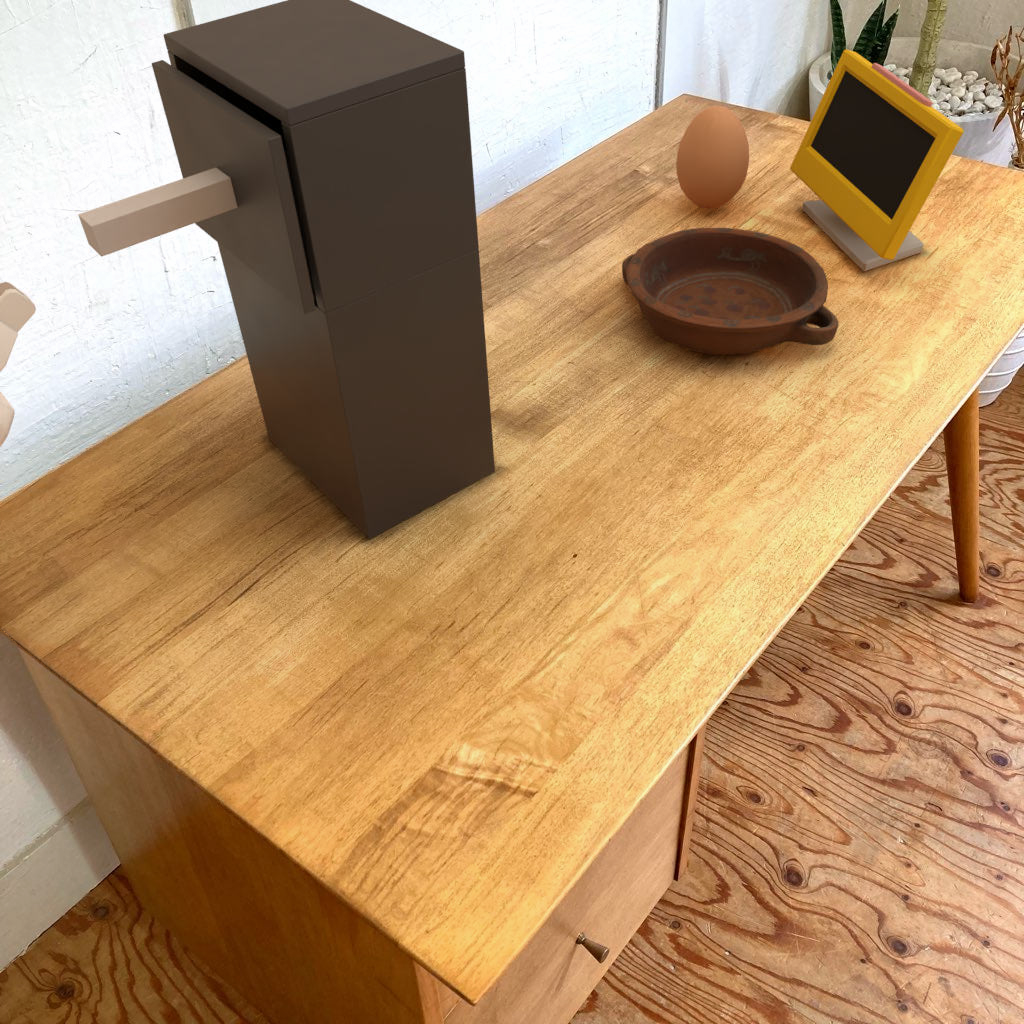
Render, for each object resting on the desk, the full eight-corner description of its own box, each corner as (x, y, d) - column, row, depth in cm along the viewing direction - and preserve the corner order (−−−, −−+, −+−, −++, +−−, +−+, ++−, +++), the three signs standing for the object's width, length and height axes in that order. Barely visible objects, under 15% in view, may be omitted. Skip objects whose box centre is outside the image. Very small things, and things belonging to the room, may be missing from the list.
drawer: (171, 373, 61) (112, 192, 54) (73, 270, 71) (10, 103, 63) (458, 251, 70) (442, 81, 62) (337, 174, 79) (311, 17, 72)
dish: (788, 405, 89) (797, 356, 86) (571, 327, 99) (571, 281, 96) (869, 309, 99) (879, 262, 96) (664, 247, 109) (667, 203, 106)
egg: (757, 201, 115) (769, 103, 108) (719, 229, 111) (729, 129, 104) (698, 183, 119) (706, 87, 112) (659, 209, 115) (665, 111, 108)
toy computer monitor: (784, 197, 116) (806, 51, 105) (850, 186, 117) (878, 40, 106) (874, 289, 101) (909, 130, 91) (947, 276, 103) (991, 117, 92)
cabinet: (369, 539, 79) (285, 108, 57) (268, 438, 89) (162, 33, 66) (495, 471, 85) (464, 50, 62) (387, 382, 94) (326, -12, 71)
